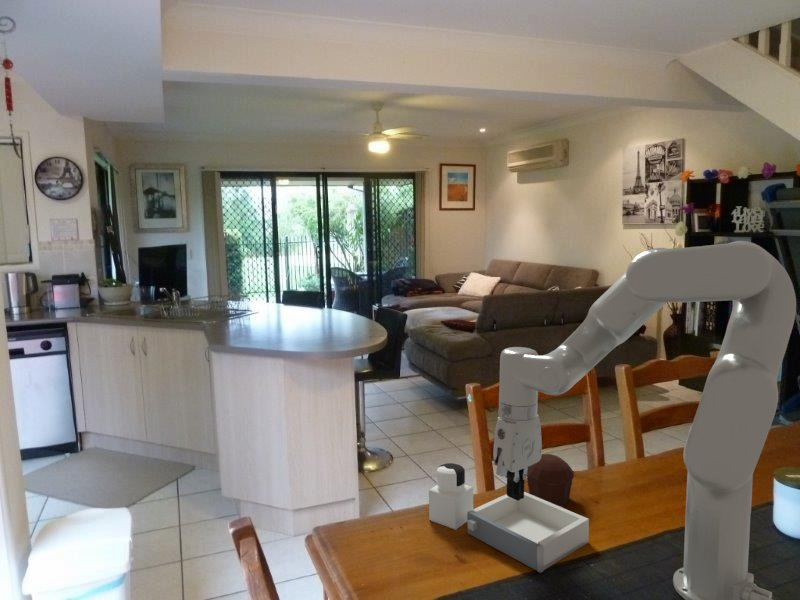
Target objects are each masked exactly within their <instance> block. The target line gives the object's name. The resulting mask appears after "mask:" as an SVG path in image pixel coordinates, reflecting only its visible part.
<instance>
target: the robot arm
mask: <svg viewBox="0 0 800 600" xmlns="http://www.w3.org/2000/svg"><path fill="white" fill-rule="evenodd" d="M796 298H797V297H796V292H795V289H794V284H793V282H792V279H791V278H790V275H789V274H788V272H787V270H786V269H785V267H784V266H783V265H782V264H781V263H780V262H779V260H777V258H775V256H773V255H772V254H770V252H768V251H767V250H766V249H765V248H763V247H762V246H760V245H758V244H756V243H754V242H751V241H745V240H735V241H731V242H729V243H720V244H711V245H709V244H708V245H702V246H700V245H699V246H690V247H679V248H676V247H675V248H667V247H654V248H650V249H649V248H648V249H646V250H644V251H642V252H640V253H638V254H637V255H636V256H635V257H633V258H632V260H631V261H630V263H629V265H628V266H627V269H626V271H625V272H624V273H623V274H622V275H621V276H620V277H619V278H618V279H617V280H616V281H615V282H614V283H613V284H612V285H611V286H610V287H609V288H608V289H607V290H606V291H604V293H603V294H601V296H599V298H597V300H596V301H594V302H593V304H592V305H591V307H590V308H589V309H588V312H587V315H586V317H585V319H584V320H583V322H582V323H581V324H580V325H579V326H578V327H577V328H575V329H576V330H574V331H573V332H572V333H571V334H570V335H569V336H568V337H567V338H566V339H565V340H564V341H563V342H562V343H561V344H560V345H559V346H558V347H557V348H556V349H554V350H552V351H550V352H549V353H547V354H543V355H539V354H538V352H537V351H536V350H535V349H532V348H530V347H522V346H513V347H507V348H505V349H503V350H502V351H501V353H500V357H499V387H498V389H499V391H498V410H497V411H498V412H497V413H498V417H497V420H496V425H495V430H494V440H493V464H494V465H495V466H496V470H495V473H496V475H497V476H499V477H504V478H505V479H506V494H507V496H509V497H511V498H513V499H515V500H517V501H519V500H520V499H523V498H524V492H525V480H527V470H528V469H529V467H530V466H531V465H533V464H535V463H537V462H539V461H540V459H541V454H543V453H542V450H543V448H542V446H543V445H542V427H541V420H540V417H539V414H538V399H539V393H543V394H545V395H550V396H560V395H563V394H565V393H567V392H568V391H569V390H571V388H572V387H574V386H575V384H577V383H578V382H579V381H581V380H582V378H584V377H585V376H586V375H587V374H588V373H589V372H590V371H591V370H592V369H594V367H595V366H597V364H599V362H601V361H602V360H603V359H604V358H605V357H606V356H607V355H608V354H610V353H611V351H613V350H614V349H615V348H616V347H617V346H619V345H621V344H623V343H625V342H626V341H627V340H628V339H629V338H630V337H631V336H633V334H634V333H635V334H636V332H637V331H638V330H639V329H640V328H641V327H642V326H643V325H644V324H645V323H647V322H648V321H649V320H650V319H651V318H652V317H653V316H655V314H656V313H657V312H658V311H660V309H662V308H663V307H664V306H665V305H666V304H667V303H671V304H672V303H697V302H698V303H699V302H722V301H726V302H728V301H732V310H731V314H730V318H729V320H728V323H727V326H726V330H725V334H724V338H723V340H722V344H721V347H720V349H719V352H718V354H717V357H716V359H715V361H714V364H712V367H711V368H710V370H709V372H708V375H707V378H706V381H705V383H704V387H703V391H702V394H701V397H700V400H699V403H698V406H697V409H696V413H695V415H694V418H693V420H692V424H691V425H690V428H689V431H688V432H687V433H688V434H687V436H686V440H685V444H684V447H683V455H682V456H683V462H684V465H685V468H686V470H687V476H686V477H687V478H686V495H685V496H686V499H685V520H684V547H683V549H684V551H683V567H680V568H678V569H677V570H676V571H675V572H674V573H673V578H672V582H673V587H674V590H675V591H676V592H677V593H678V594H679V595H680V597H682V598H683V599H684V600H774V599H772V598H773V592H772V591H770V590H767V589H765V588H761V587H760V586H757V584H756V583H754V577H755V574H753V573H751V572H749V571H748V569H749V551H750V549H749V548H750V532H751V513H752V502H753V501H752V499H753V480H754V479H753V478H754V475H753V474H754V472H755V469H756V466H757V464H758V462H759V459H760V456H761V454H762V451H763V448H764V446H765V442H766V440H767V437H768V435H769V432H770V430H771V427H772V423H773V421H774V419H775V415H776V411H777V407H778V403H779V391H778V388H779V387H778V377H779V372H780V368H781V365H782V363H783V360H784V357H785V355H786V351H787V348H788V344H789V341H790V337H791V334H792V330H793V328H794V324H795V318H796V314H797V312H796V311H797V299H796Z"/></svg>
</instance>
